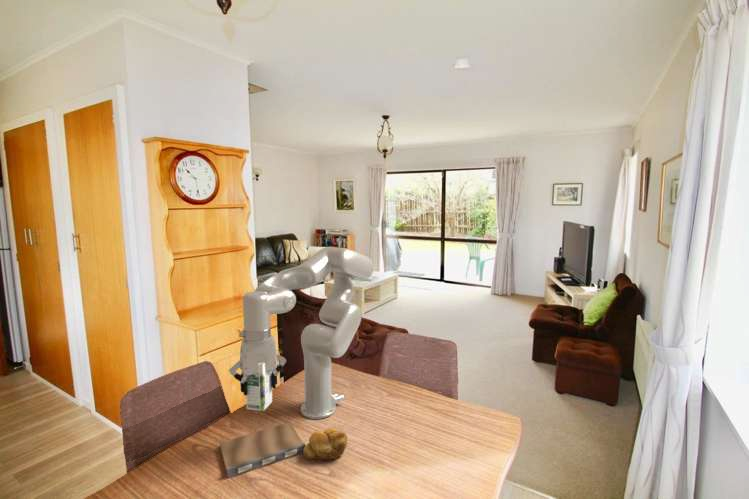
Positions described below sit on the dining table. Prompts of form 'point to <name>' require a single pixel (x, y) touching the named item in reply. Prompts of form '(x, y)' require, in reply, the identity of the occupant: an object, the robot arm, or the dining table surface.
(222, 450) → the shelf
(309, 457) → the bread roll
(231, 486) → the dining table surface
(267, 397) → the syrup box
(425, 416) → the dining table surface
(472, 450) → the dining table surface
